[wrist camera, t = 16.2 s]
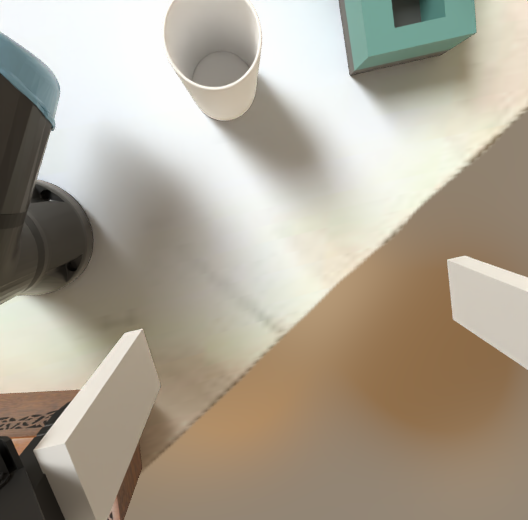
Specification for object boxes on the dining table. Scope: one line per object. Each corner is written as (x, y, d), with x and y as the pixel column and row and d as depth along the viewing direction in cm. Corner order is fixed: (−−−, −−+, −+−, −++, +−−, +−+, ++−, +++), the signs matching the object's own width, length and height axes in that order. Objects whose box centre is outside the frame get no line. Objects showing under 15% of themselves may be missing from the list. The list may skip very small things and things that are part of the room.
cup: (198, 41, 43) (172, -37, 28) (263, 61, 44) (273, -3, 29) (184, 110, 45) (152, 73, 29) (246, 128, 46) (248, 102, 30)
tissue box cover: (-25, 477, 55) (-82, 540, 46) (-45, 395, 52) (-111, 444, 43) (142, 466, 57) (121, 526, 47) (132, 386, 53) (108, 432, 44)
